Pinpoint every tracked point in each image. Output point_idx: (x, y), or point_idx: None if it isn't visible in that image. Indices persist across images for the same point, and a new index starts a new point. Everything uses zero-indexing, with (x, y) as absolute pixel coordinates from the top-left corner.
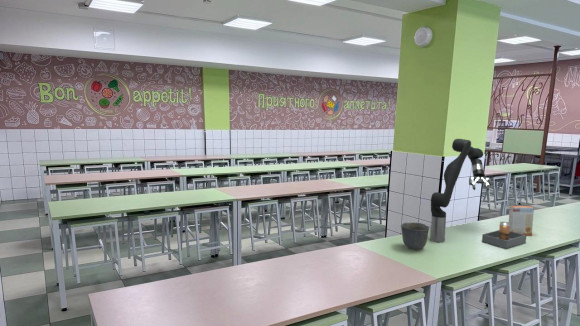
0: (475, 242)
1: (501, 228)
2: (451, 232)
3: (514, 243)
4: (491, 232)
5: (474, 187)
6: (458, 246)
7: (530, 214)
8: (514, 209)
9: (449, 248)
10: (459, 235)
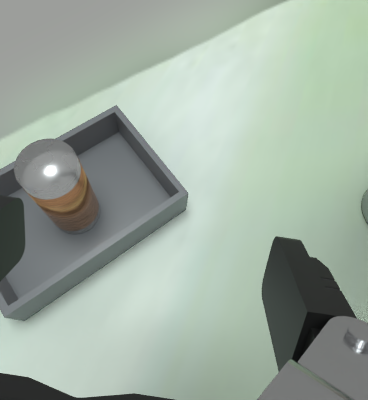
0: (219, 202)
1: (83, 169)
2: None
3: None
4: (120, 231)
5: (303, 247)
6: (310, 144)
7: None
8: None
9: (351, 119)
10: None
